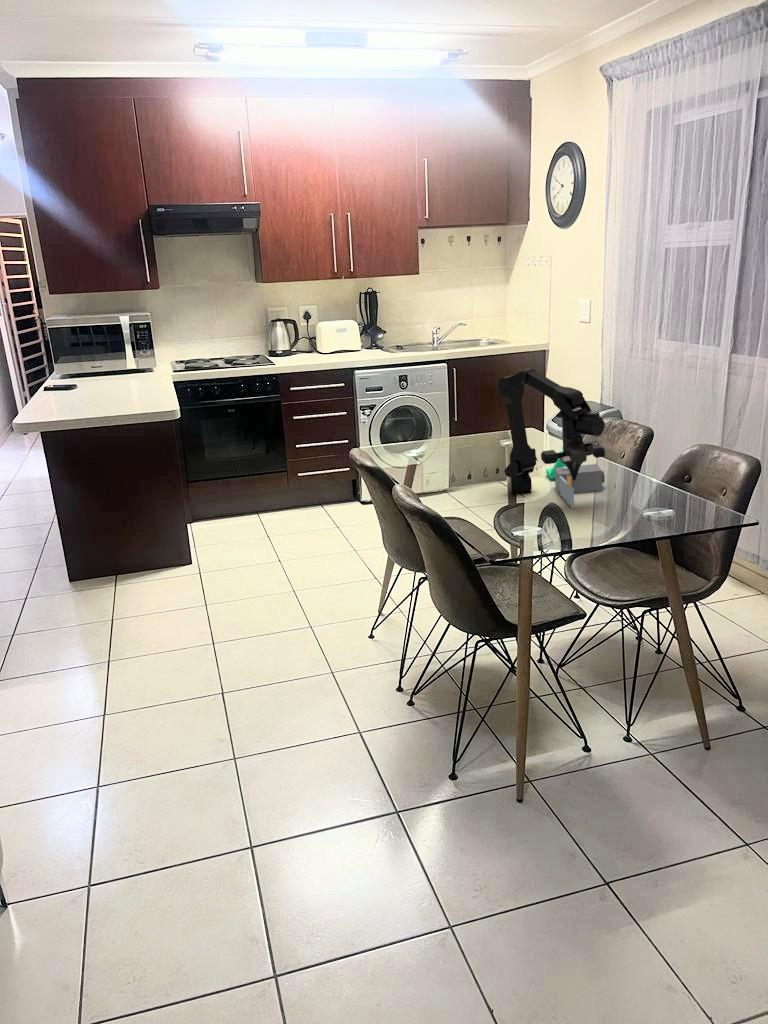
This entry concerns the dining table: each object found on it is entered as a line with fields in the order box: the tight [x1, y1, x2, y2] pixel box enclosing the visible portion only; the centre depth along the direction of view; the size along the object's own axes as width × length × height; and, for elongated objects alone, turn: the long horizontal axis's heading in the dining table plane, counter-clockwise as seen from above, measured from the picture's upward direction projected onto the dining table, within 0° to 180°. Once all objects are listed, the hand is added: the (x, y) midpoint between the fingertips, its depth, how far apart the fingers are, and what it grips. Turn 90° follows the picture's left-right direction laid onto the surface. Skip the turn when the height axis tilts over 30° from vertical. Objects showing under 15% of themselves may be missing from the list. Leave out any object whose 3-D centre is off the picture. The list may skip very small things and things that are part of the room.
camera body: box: [554, 463, 606, 494], centre depth 250 cm, size 15×8×8 cm, turn 86°
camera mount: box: [545, 449, 567, 480], centre depth 265 cm, size 12×8×10 cm, turn 91°
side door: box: [558, 475, 575, 507], centre depth 240 cm, size 14×1×10 cm, turn 3°
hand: (573, 480), depth 235 cm, fingers closed
